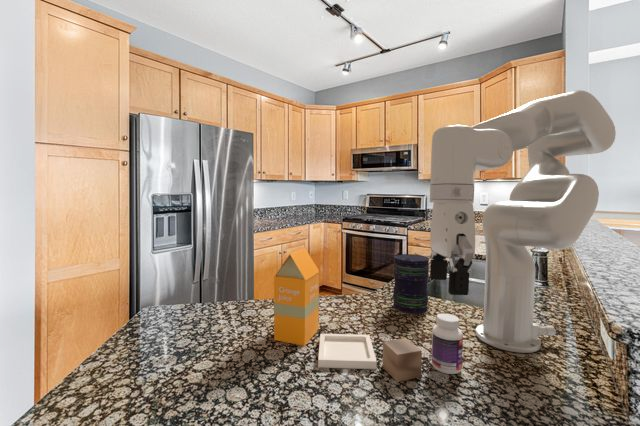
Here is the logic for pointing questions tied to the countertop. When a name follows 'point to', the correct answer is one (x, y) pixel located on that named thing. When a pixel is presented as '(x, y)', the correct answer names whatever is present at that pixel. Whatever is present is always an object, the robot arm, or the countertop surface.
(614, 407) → the countertop surface
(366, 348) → the tray
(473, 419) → the countertop surface
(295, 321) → the orange juice
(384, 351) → the walnut block
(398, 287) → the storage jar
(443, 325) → the pill bottle
